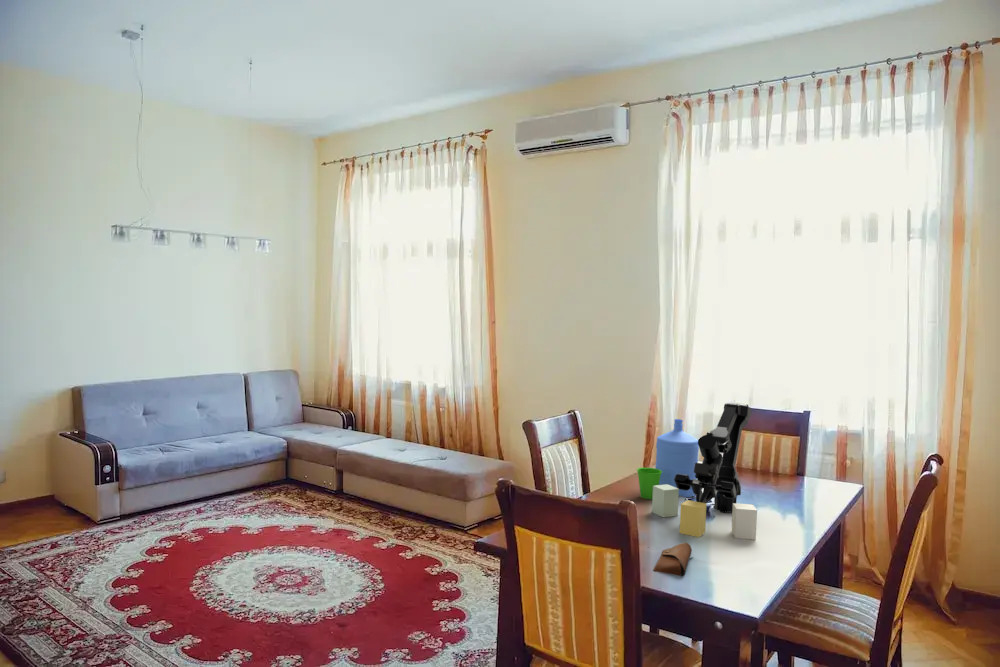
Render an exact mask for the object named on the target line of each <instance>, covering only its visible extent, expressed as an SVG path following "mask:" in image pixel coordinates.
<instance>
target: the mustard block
mask: <svg viewBox="0 0 1000 667" xmlns="http://www.w3.org/2000/svg"><path fill="white" fill-rule="evenodd" d="M706 519H707V503H701V502H696V500H689V499H687V500H685V501H683V502H682V503H680V518H679V534H682V535H687V536H692V537H696V538H700V537H701V536H702V535H704V534H705V533H706V523H707V520H706Z"/></svg>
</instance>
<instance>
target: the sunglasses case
mask: <svg viewBox="0 0 1000 667" xmlns="http://www.w3.org/2000/svg"><path fill="white" fill-rule="evenodd" d="M691 555H692V547H691V545H690V543H688V542H682V543H679V544H676V545H674V546H673V547H670V548H666V549H662V550H661V554H660V556H659V558H658V560H657V562H656V564H655V565H654V567H653V572H656V573H663V574H668V575H674V576H680V577H684V576H685V575H686V571H687V567H688V565H689V562H690V557H691Z"/></svg>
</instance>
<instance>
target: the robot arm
mask: <svg viewBox="0 0 1000 667" xmlns="http://www.w3.org/2000/svg"><path fill="white" fill-rule="evenodd" d="M750 418H752V407H749V404H745V403H739V402H738V403H737V402H725V403H724V405H723V412H722V413H721V417H720V419H719V421H718V423H717V425H716V428H714V429H711V430H710V431H709V432H706V434H704V435H702V436H700V437H699V439H698V445H699V451H700V455H701V456H702V457H703V459H702V462H698V463H695V467H694V473H695V478H697V480H696V479H693V480H690V479H689V476H688V475H685V474H679V473H678V474H676V475H675V478H674V481H675V483H676V486H677V488H678V489H680V490H686V491H687V490H689V489H690V487H692V490H693V493H694V494H696V495H695V501H696V502H701V503H706V504H707V503H708V502H710V501H711V500H712V499H714V500H713V501H714V503H715V504H714V503H713V508H714V509H715V510H717V511H718V512H720V513H732V509H733V503H737V497H738V496H741V495H742V486H741V483H740V480H739V474H738V472H737V469H736V464H737V463H736V462H737V458H738V453H739V446H740V443H741V442H740V441H741V437H742V431H743V429H744V428H745V427H746V426H747V425H748V424H749V420H750ZM722 454H723V455H722Z"/></svg>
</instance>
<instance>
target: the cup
mask: <svg viewBox="0 0 1000 667" xmlns="http://www.w3.org/2000/svg"><path fill="white" fill-rule="evenodd" d="M636 471H637V477H638V485H639V493H640V494H639V495H640V498H642V499H644V500H653V486H655V485H659V481H660V476H661V473H662V471H661V470H659V469H655V467H639V468H637V469H636Z"/></svg>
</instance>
